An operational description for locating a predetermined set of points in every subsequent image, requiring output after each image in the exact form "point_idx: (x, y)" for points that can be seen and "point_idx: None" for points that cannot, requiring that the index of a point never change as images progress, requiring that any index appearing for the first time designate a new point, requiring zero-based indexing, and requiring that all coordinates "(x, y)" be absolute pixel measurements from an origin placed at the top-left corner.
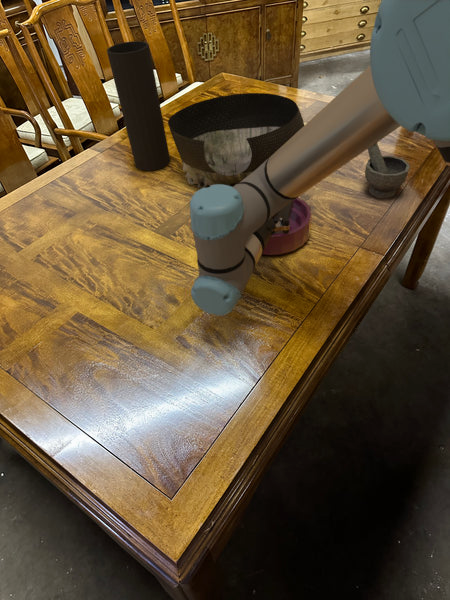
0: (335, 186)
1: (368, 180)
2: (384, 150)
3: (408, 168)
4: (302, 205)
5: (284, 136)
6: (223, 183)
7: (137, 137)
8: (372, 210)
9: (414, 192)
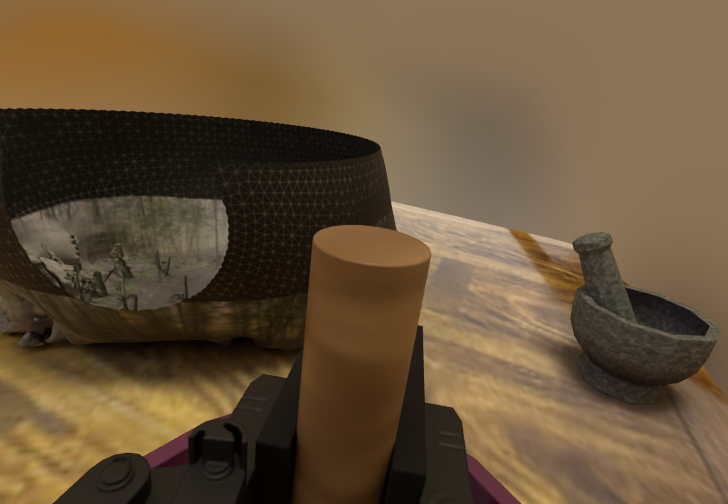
0: (482, 358)
1: (602, 349)
2: (526, 277)
3: (709, 320)
4: (475, 490)
5: (351, 194)
6: (114, 337)
7: None
8: (660, 460)
9: (694, 384)
